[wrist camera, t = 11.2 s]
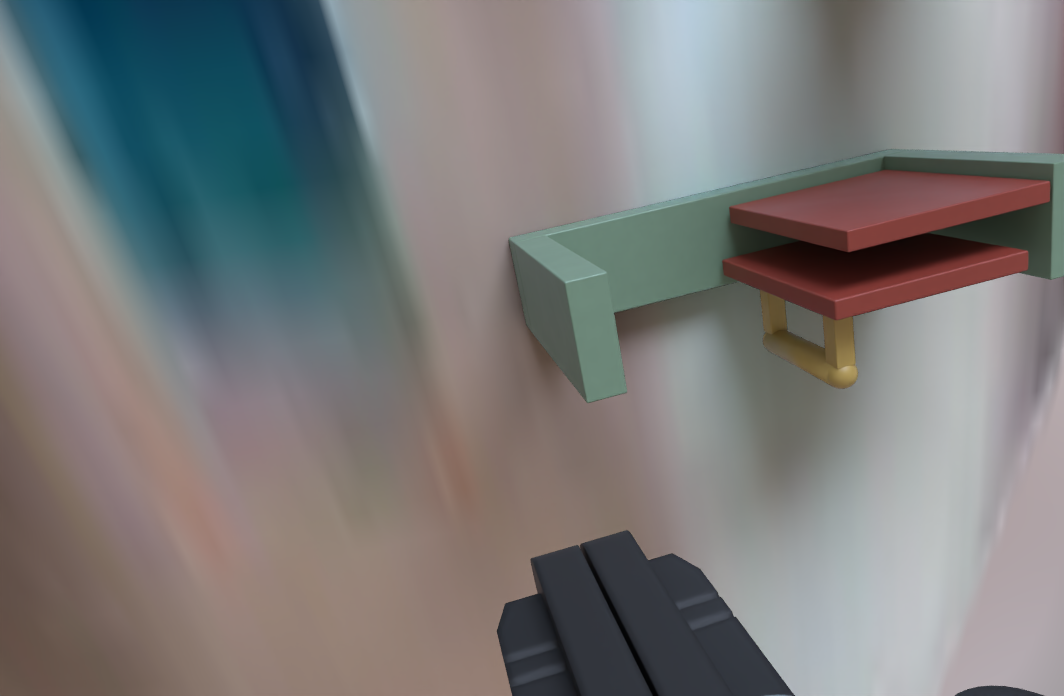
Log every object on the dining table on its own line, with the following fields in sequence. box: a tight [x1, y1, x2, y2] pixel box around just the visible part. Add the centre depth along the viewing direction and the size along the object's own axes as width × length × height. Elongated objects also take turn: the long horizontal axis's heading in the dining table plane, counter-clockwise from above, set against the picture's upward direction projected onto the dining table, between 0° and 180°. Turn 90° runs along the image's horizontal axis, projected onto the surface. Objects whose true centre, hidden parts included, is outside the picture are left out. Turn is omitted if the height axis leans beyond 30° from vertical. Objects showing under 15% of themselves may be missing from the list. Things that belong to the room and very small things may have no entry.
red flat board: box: [722, 233, 1028, 389], centre depth 32 cm, size 4×8×9 cm, turn 102°
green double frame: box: [509, 149, 1064, 403], centre depth 31 cm, size 4×20×11 cm, turn 102°
